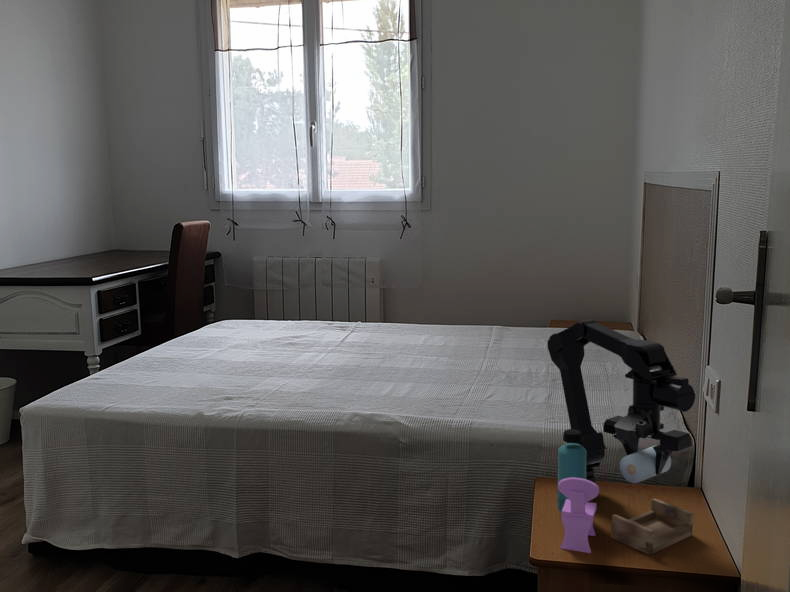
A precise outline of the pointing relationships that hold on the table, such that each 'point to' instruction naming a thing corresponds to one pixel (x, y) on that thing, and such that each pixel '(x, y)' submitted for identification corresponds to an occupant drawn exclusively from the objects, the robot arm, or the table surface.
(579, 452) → the beverage bottle
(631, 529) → the holder
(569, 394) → the robot arm
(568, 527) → the toy chair
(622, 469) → the roll
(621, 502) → the table surface
